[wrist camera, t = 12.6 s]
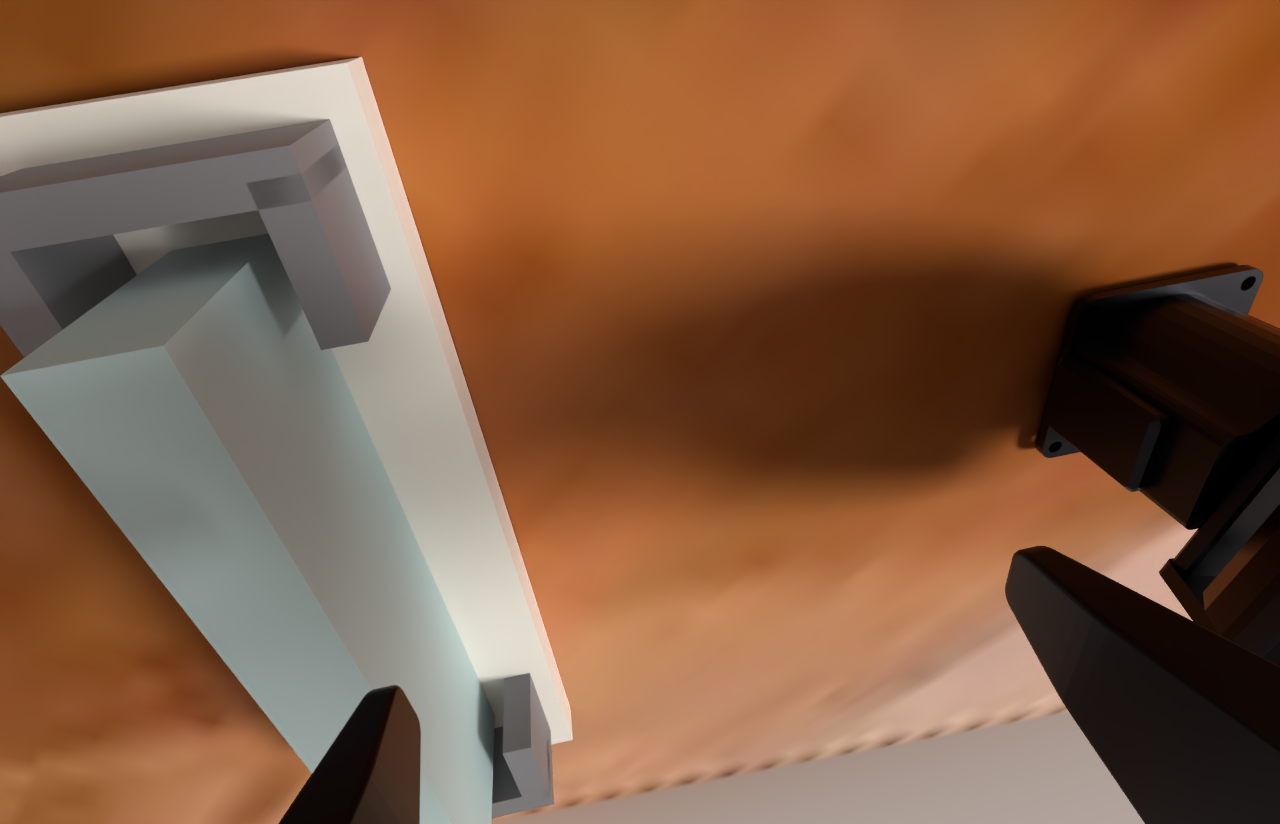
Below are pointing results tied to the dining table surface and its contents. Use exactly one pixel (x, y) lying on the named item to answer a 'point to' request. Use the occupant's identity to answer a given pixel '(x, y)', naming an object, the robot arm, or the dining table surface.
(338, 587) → the slat
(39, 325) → the endcap stand
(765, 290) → the dining table surface
